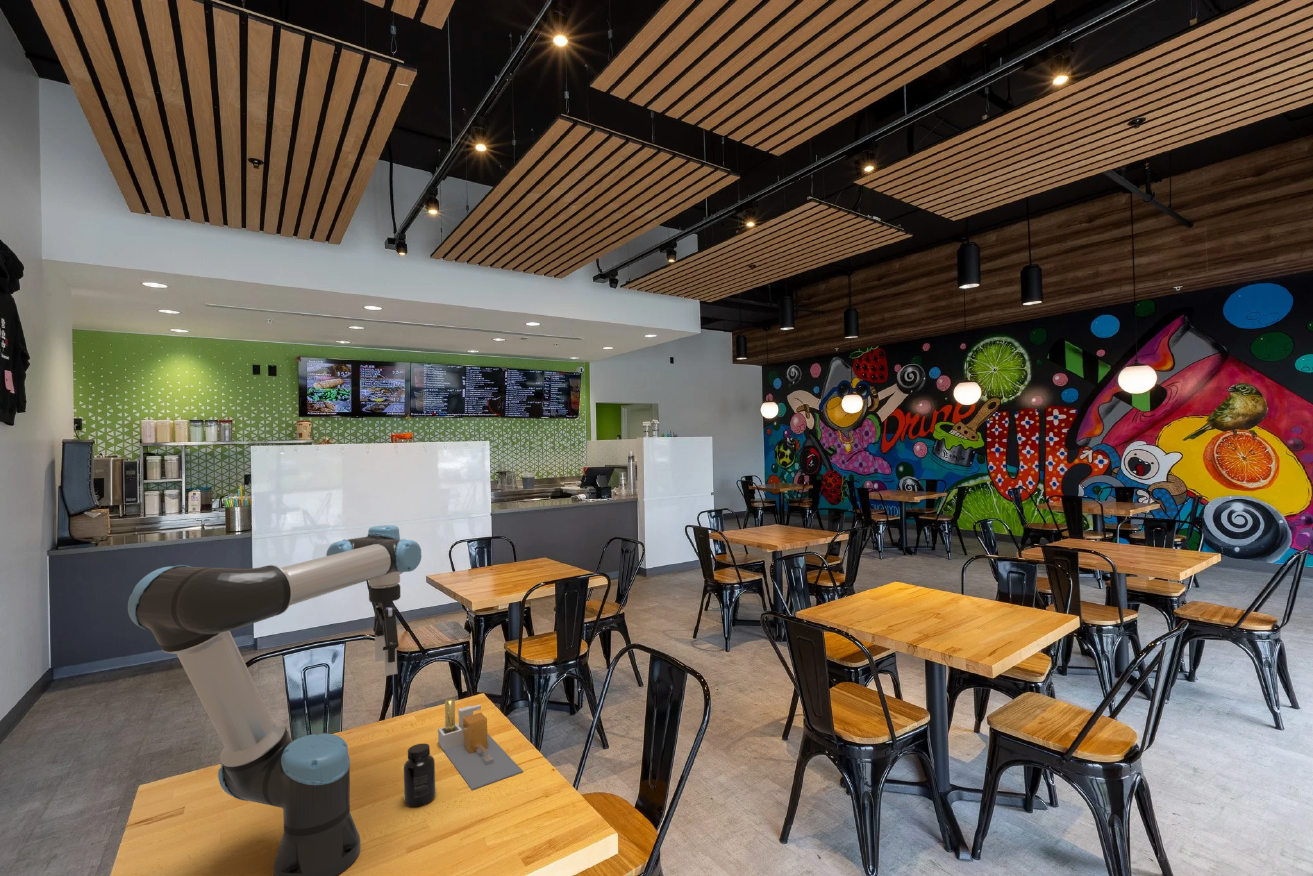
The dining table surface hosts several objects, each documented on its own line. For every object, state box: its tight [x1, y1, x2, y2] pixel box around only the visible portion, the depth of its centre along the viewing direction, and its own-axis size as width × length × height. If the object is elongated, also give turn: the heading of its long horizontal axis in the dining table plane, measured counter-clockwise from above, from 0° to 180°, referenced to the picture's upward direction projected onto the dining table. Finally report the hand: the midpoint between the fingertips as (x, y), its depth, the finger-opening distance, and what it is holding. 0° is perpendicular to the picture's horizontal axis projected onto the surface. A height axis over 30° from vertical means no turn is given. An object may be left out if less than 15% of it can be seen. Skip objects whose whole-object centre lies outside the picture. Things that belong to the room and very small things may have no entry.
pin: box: [444, 697, 456, 734], centre depth 168 cm, size 3×3×12 cm
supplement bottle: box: [403, 742, 437, 808], centre depth 142 cm, size 7×7×12 cm
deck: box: [437, 704, 524, 791], centre depth 161 cm, size 30×13×8 cm, turn 35°
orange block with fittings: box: [463, 712, 493, 765], centre depth 162 cm, size 14×5×8 cm, turn 35°
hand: (385, 667), depth 156 cm, fingers open, 13 cm apart
